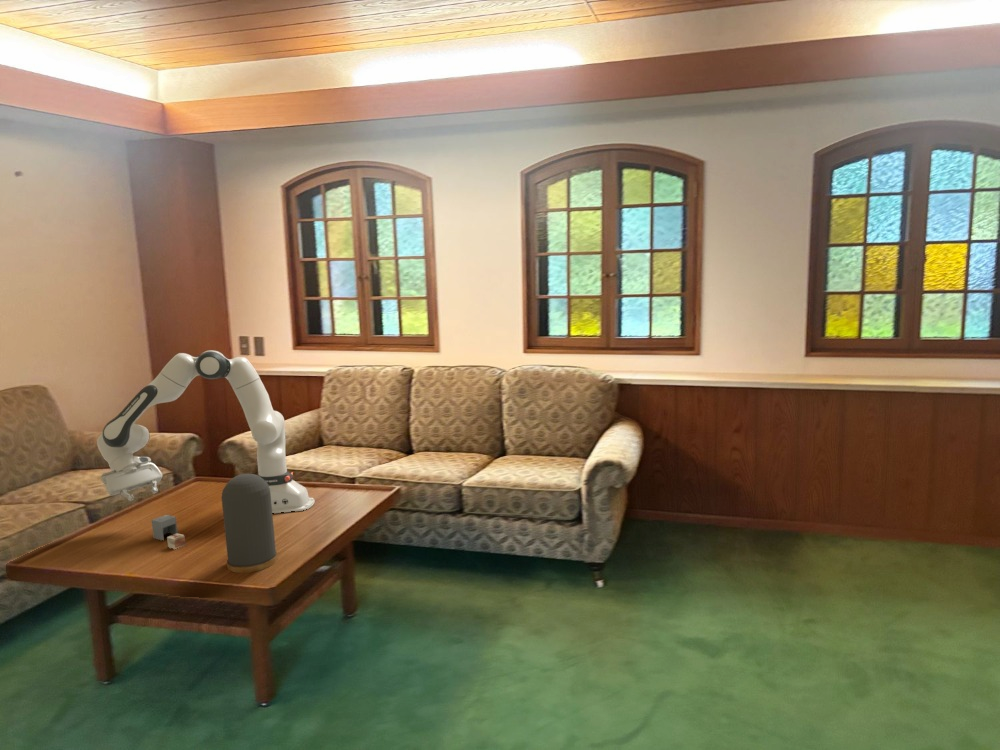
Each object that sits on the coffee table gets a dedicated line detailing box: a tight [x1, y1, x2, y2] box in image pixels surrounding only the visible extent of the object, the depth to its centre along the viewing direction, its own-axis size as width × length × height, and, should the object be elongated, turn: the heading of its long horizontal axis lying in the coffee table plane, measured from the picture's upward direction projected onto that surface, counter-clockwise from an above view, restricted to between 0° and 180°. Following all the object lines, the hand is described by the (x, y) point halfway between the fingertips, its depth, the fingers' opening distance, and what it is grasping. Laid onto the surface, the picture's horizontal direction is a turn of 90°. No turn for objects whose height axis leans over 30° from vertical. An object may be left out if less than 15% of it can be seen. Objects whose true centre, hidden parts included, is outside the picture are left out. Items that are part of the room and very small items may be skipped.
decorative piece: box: [221, 473, 279, 574], centre depth 228 cm, size 16×16×30 cm
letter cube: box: [166, 532, 186, 550], centre depth 246 cm, size 4×4×4 cm
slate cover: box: [151, 514, 179, 541], centre depth 256 cm, size 6×6×7 cm
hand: (144, 495), depth 259 cm, fingers open, 8 cm apart
